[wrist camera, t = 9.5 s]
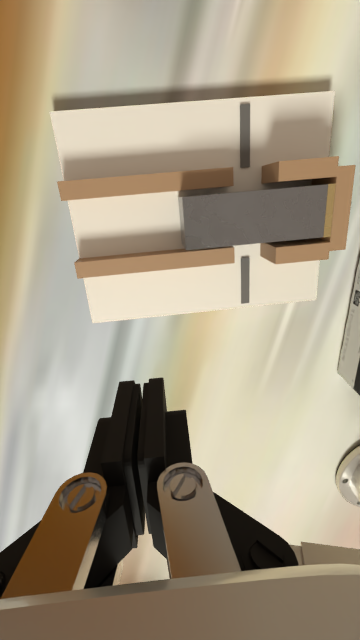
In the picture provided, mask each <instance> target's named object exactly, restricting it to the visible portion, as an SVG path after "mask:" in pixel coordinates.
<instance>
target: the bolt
mask: <svg viewBox="0 0 360 640" xmlns="http://www.w3.org/2000/svg"><path fill="white" fill-rule="evenodd" d="M335 188H336V183H334V184H321V185H308V186H300V187H288V188H277V189H265V190H254V191H242V192H231V193H219V194H208V195H197V196H185V197H178V202H179V215H180V228H181V241H182V245H183V246H184V248H185V249H186V250H195V249H205V248H215V247H226V246H236V245H247V244H257V243H268V242H278V241H289V240H299V239H310V238H320V237H331V227H332V217H333V207H334V197H335Z"/></svg>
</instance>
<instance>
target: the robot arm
mask: <svg viewBox="0 0 360 640" xmlns="http://www.w3.org/2000/svg"><path fill="white" fill-rule="evenodd" d="M336 485H337V488H338V490H339V492H340V493H341V495H342V497H343V498H344V499H345V500H346V501H347V502H349V503H351V504H353V505H355V506H359V507H360V446H358V447H357V448H355V449H354V450H353V451H352V452H350V453H349V454H348V455H347V456H346V458H345V459H344V460H343V462H342V463H341V464H340V467H339V469H338V471H337V475H336ZM145 513H146V519H147V526H148V532H149V534H152V539H153V546H154V547H155V548H156V549H157V550H158V551H159V552H160V553H161V554H162V555H163V556H164V557H165V558H166V559H167V565H168V571H169V577H170V579H167V580H158V581H149V582H140V583H132V584H123V585H119V582H120V578H121V574H122V568H123V560H122V559H123V558H124V557H125V556H126V555H127V554H128V553H129V552H130V551H131V550H132V548H137V543H138V535H144V527H145ZM0 640H360V549H353V548H345V547H338V546H330V545H322V544H315V543H307V542H301V546H295V545H289V544H288V543H287V542H286V541H285V540H284V539H283V538H281V537H280V536H279V535H277V534H276V533H274V532H273V531H271V530H270V529H268V528H267V527H265V526H264V525H262V524H261V523H259V522H258V521H256V520H255V519H253V518H252V517H250V516H249V515H247V514H246V513H244V512H243V511H241V510H240V509H238V508H237V507H235V506H234V505H232V504H231V503H229V502H228V501H226V500H225V499H223V498H222V497H220V496H219V495H217V494H216V493H214V492H213V491H212V488H211V486H210V483H209V480H208V477H207V475H206V474H205V472H204V471H203V470H202V469H201V468H200V467H199V466H197V465H194V464H192V457H191V449H190V441H189V433H188V425H187V417H186V410H179V411H169V412H167V408H166V398H165V389H164V380H163V378H154V379H149V383H144V387H143V397H142V394H141V387H140V384H135V382H134V380H133V381H123V382H119V386H118V390H117V394H116V399H115V403H114V408H113V412H112V416H111V417H109V418H100V419H99V421H98V423H97V427H96V430H95V434H94V437H93V441H92V444H91V448H90V451H89V455H88V458H87V462H86V465H85V469H84V472H83V473H81V474H78V475H76V476H73V477H72V478H70V479H68V480H67V481H66V482H65V483H63V484H62V485H61V486H60V488H59V489H58V491H57V492H56V494H55V495H54V497H53V499H52V501H51V503H50V505H49V507H48V509H47V511H46V513H45V514H44V516H43V518H42V520H41V521H40V522H39V523H37V524H36V525H35V526H33V527H32V528H31V529H30V530H28V531H27V532H26V533H25V534H23V535H22V536H21V537H19V538H18V539H17V540H16V541H14V542H13V543H12V544H10V545H9V546H8V547H7V548H5V549H4V550H3V551H1V552H0Z"/></svg>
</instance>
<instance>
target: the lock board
mask: <svg viewBox="0 0 360 640" xmlns="http://www.w3.org/2000/svg"><path fill="white" fill-rule="evenodd" d="M334 97H335V91H324V92H311V93H297V94H283V95H270V96H256V97H242V98H229V99H215V100H201V101H187V102H174V103H160V104H146V105H133V106H119V107H105V108H92V109H78V110H64V111H51V112H50V116H51V121H52V126H53V131H54V136H55V141H56V146H57V150H58V155H59V160H60V165H61V170H62V175H63V180H64V181H59V182H57V183H58V188H59V192H60V197H61V201H67V200H68V205H69V210H70V214H71V219H72V224H73V229H74V234H75V239H76V244H77V249H78V254H79V259H78V260H77V261H76V262H75V268H76V273H77V278H84V283H85V288H86V293H87V298H88V303H89V308H90V313H91V318H92V323H100V322H110V321H119V320H129V319H138V318H148V317H157V316H167V315H176V314H186V313H195V312H205V311H214V310H224V309H233V308H243V307H252V306H262V305H271V304H281V303H290V302H300V301H309V300H316V296H317V285H318V274H319V263H320V260H325V259H328V258H329V251H333V250H343V249H345V248H346V239H347V231H348V223H349V214H350V206H351V198H352V190H353V181H354V173H355V165H350V166H338V159H339V156H336V157H329V152H330V141H331V130H332V119H333V108H334ZM334 183H336V188H335V197H334V207H333V217H332V227H331V237H320V238H310V239H299V240H289V241H278V242H268V243H257V244H247V245H236V246H226V247H215V248H205V249H195V250H186V249H185V248H184V246H183V245H182V241H181V228H180V215H179V202H178V197H185V196H197V195H208V194H219V193H231V192H242V191H254V190H265V189H277V188H288V187H300V186H308V185H321V184H334Z"/></svg>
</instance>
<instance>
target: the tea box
mask: <svg viewBox="0 0 360 640" xmlns="http://www.w3.org/2000/svg"><path fill="white" fill-rule="evenodd" d="M338 374H339V375H340V376H341V377H342V378H343V379H344V380H345V381H346V382H347V383H348V384H349V385H350V386H351V387H352V388H353V389H354V390H355V391H356V392H357V393H358V394H359V395H360V259H359V264H358V267H357V272H356V277H355V284H354V289H353V293H352V298H351V303H350V310H349V315H348V320H347V323H346V328H345V335H344V341H343V346H342V349H341V354H340V361H339V366H338Z"/></svg>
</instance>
